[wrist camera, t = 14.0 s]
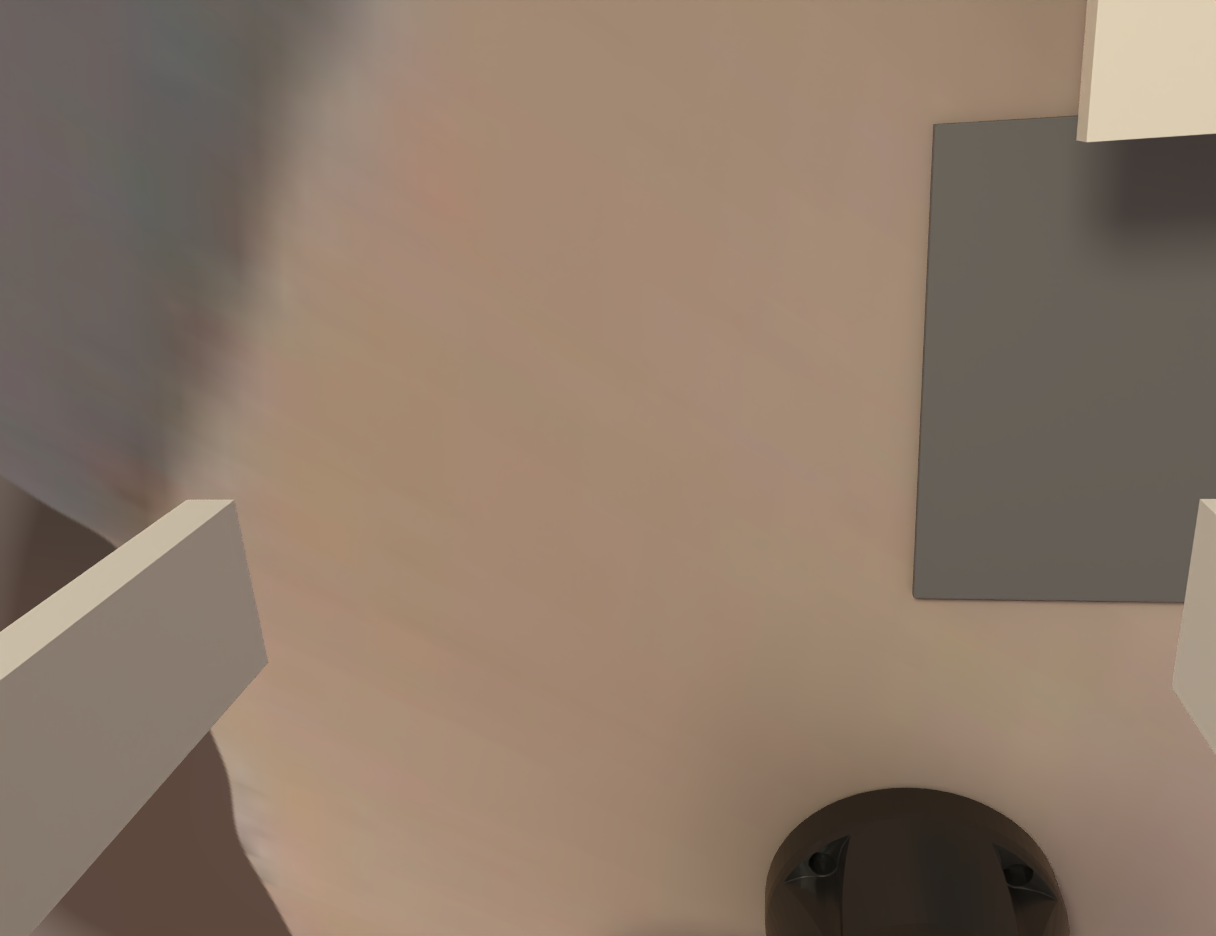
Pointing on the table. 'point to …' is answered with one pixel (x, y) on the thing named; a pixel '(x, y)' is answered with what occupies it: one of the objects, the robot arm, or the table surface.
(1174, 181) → the mat
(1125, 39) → the lid
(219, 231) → the table surface
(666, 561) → the table surface
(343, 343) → the table surface
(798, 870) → the robot arm
